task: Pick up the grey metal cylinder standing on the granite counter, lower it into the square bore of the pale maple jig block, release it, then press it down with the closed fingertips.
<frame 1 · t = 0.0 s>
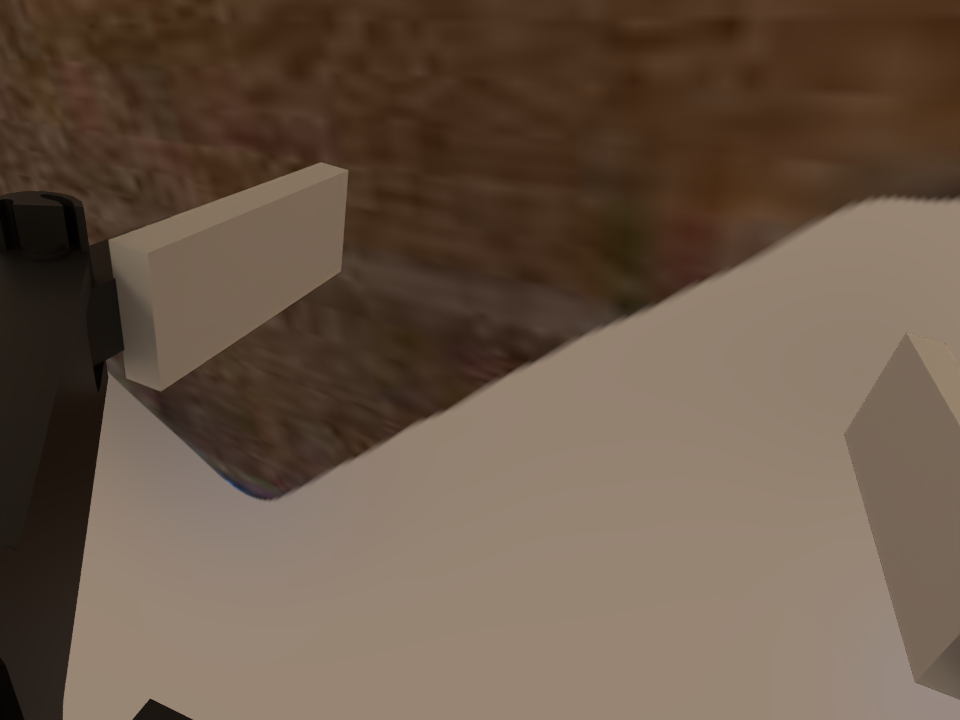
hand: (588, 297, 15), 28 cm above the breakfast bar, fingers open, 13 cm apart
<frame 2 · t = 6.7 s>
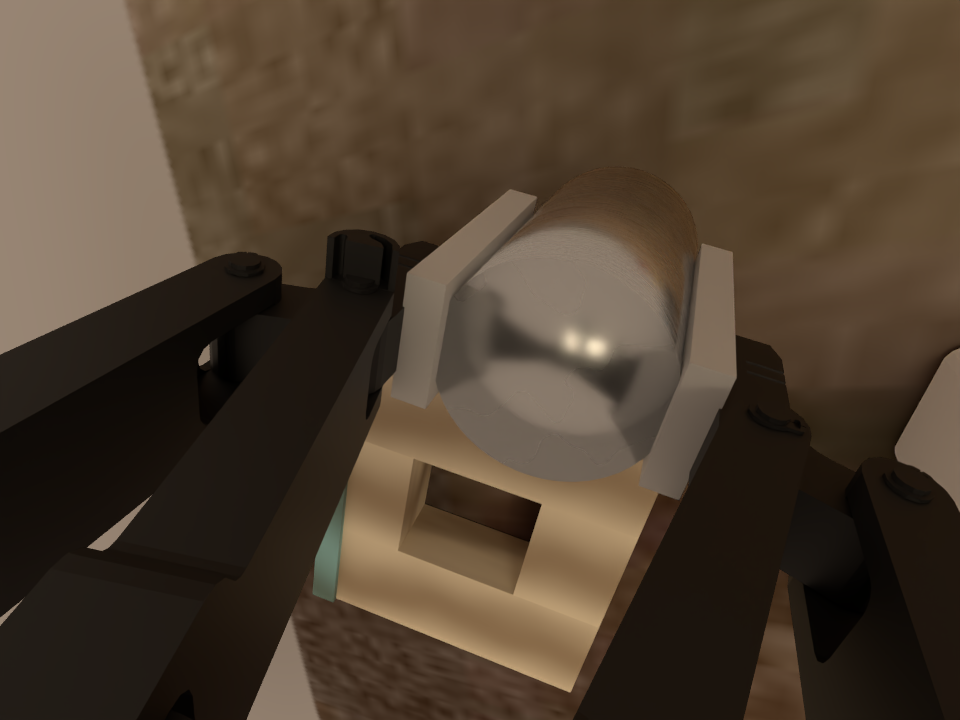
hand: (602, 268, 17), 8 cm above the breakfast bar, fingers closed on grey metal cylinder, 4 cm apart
grey metal cylinder: (613, 248, 18), point 6 cm above the breakfast bar, touching gripper
jig: (487, 481, 32), on the breakfast bar
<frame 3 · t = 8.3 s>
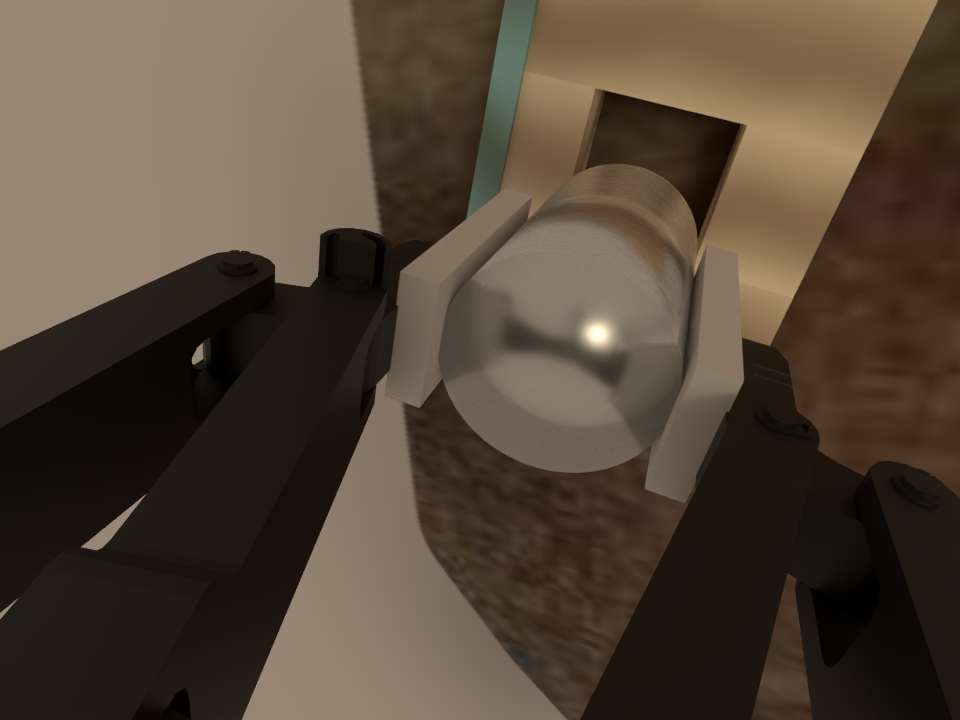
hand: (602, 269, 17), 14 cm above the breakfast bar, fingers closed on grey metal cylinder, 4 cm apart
grey metal cylinder: (614, 244, 19), point 12 cm above the breakfast bar, touching gripper
jig: (653, 164, 29), on the breakfast bar
when the fingers open (4 cm above the breakfast bar, at t = 10.4 s): grey metal cylinder stays where it is, resting in jig.
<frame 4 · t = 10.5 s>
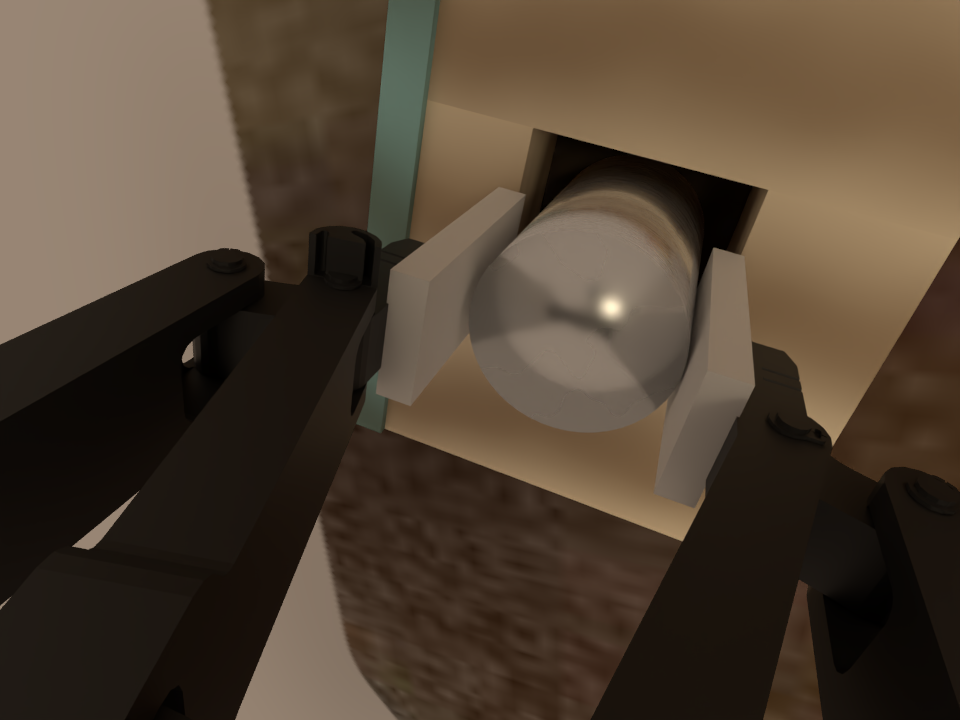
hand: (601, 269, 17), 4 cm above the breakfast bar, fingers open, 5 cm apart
grey metal cylinder: (626, 230, 20), resting in jig
jig: (629, 230, 20), on the breakfast bar
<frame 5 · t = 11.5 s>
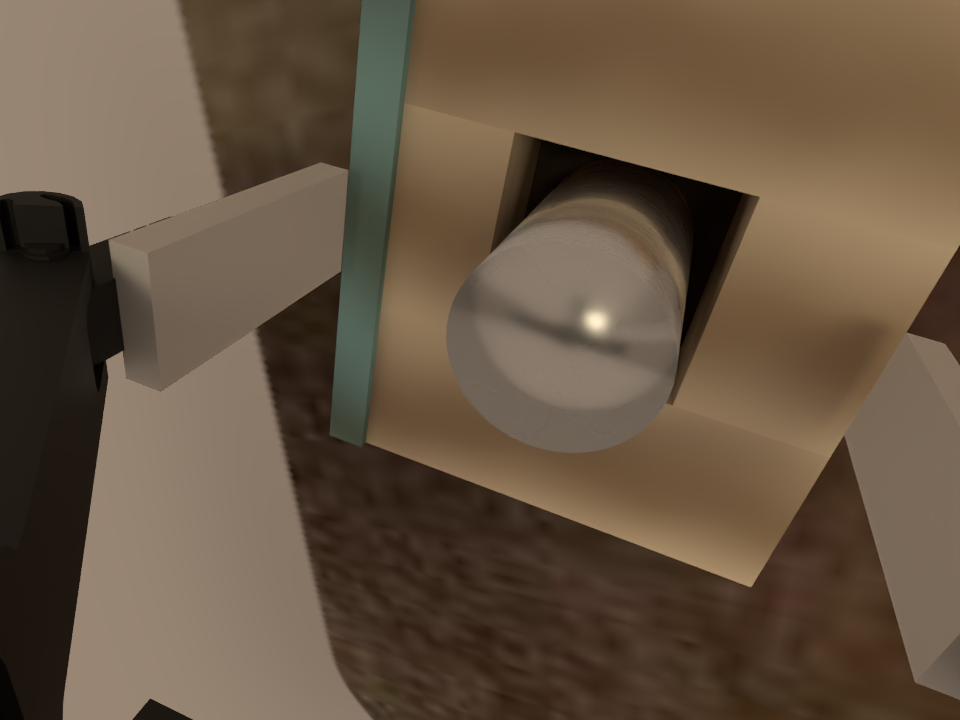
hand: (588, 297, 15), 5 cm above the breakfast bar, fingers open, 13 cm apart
grey metal cylinder: (613, 237, 19), resting in jig
jig: (617, 237, 19), on the breakfast bar
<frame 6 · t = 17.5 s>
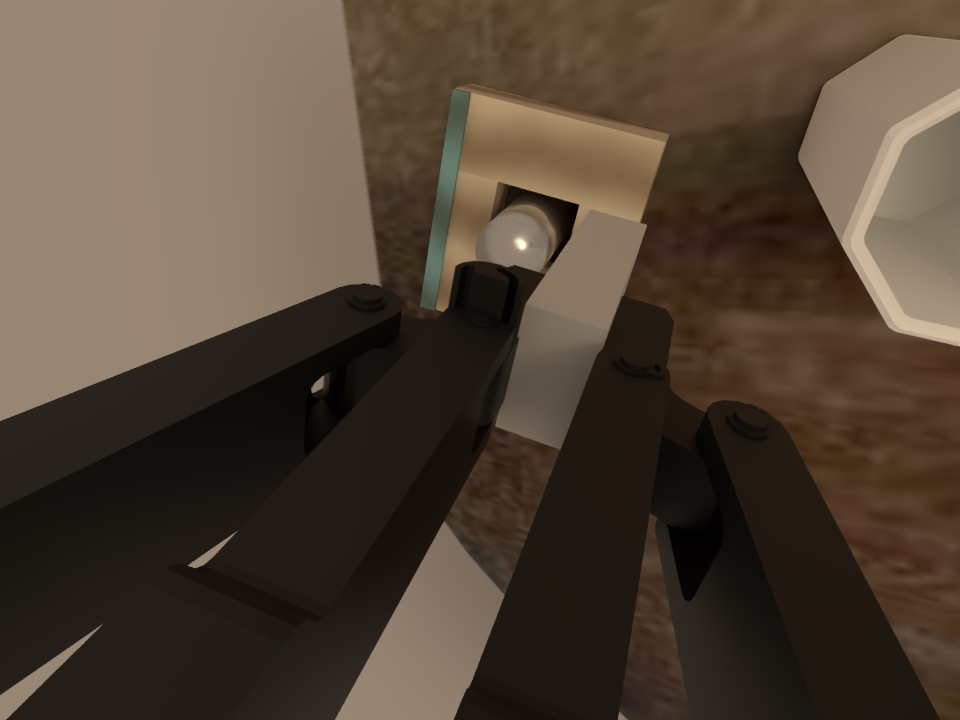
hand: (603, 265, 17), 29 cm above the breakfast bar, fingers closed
grey metal cylinder: (539, 220, 48), resting in jig
jig: (540, 220, 48), on the breakfast bar
cup: (901, 135, 38), on the breakfast bar
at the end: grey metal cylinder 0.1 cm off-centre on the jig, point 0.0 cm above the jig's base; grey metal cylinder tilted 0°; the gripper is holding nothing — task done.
